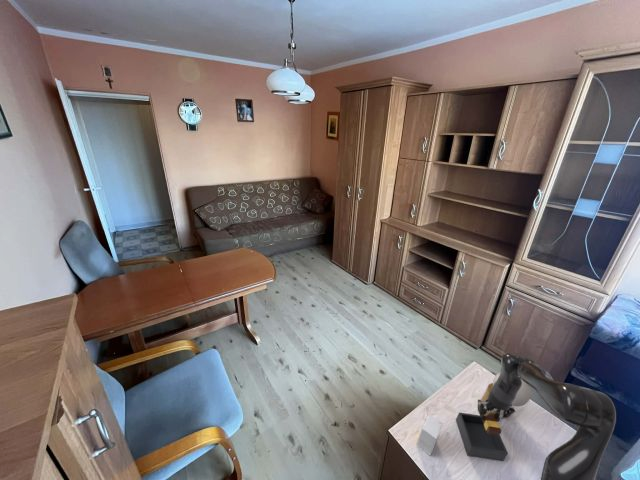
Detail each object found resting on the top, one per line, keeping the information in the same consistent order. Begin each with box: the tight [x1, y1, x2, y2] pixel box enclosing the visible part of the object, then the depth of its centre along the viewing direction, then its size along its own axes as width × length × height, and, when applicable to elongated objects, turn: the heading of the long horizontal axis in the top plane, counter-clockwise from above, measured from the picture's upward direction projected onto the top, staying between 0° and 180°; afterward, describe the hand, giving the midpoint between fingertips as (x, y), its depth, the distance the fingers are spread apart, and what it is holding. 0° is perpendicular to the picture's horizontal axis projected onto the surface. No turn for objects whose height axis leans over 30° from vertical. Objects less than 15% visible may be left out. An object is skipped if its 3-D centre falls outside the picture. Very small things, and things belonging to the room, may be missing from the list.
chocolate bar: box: [477, 409, 503, 436], centre depth 111 cm, size 10×5×3 cm, turn 173°
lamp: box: [480, 372, 532, 419], centre depth 125 cm, size 15×14×25 cm
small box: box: [415, 413, 444, 457], centre depth 113 cm, size 8×6×13 cm
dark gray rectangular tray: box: [455, 412, 509, 462], centre depth 117 cm, size 15×15×6 cm
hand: (488, 419), depth 112 cm, fingers closed on chocolate bar, 4 cm apart
